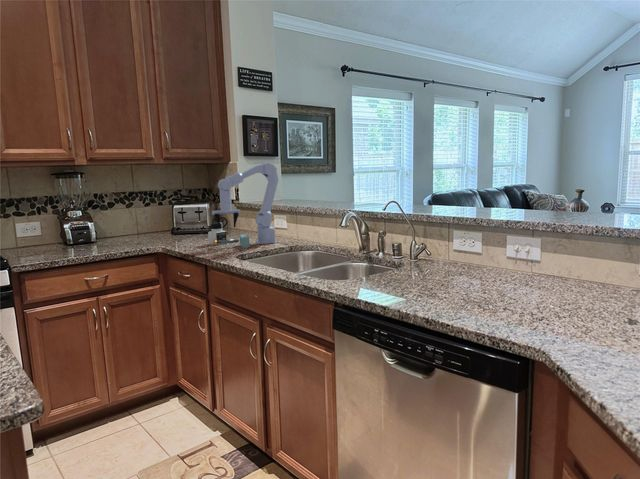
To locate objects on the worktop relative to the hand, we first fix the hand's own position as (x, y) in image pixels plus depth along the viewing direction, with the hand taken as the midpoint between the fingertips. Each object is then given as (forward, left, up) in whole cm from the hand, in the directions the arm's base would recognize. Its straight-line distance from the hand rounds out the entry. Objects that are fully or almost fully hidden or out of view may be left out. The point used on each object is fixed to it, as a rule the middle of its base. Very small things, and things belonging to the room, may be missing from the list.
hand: (227, 227), depth 247 cm
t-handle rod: (+1, +2, -8) cm, 9 cm away
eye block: (-8, +2, -10) cm, 14 cm away
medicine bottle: (+5, -12, -11) cm, 17 cm away
